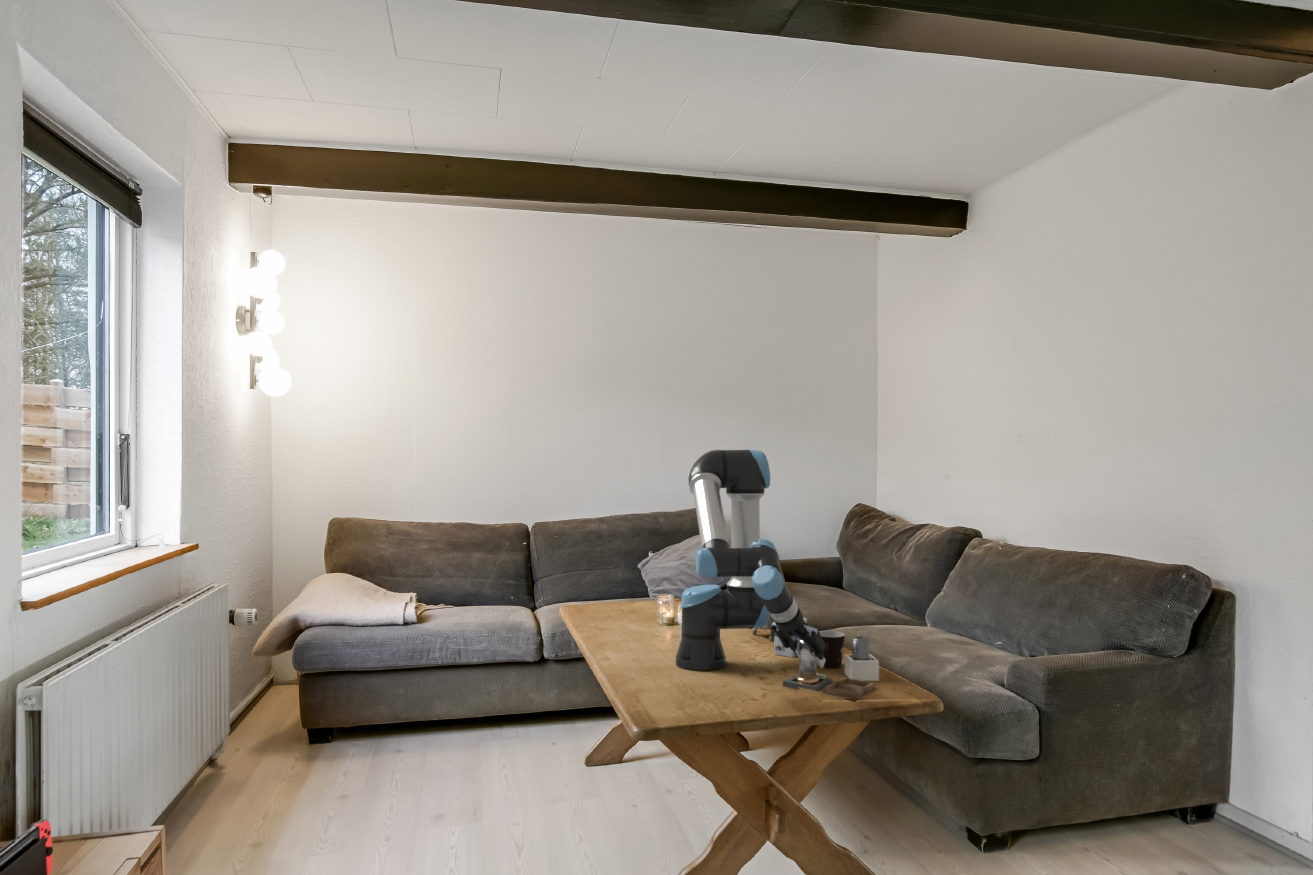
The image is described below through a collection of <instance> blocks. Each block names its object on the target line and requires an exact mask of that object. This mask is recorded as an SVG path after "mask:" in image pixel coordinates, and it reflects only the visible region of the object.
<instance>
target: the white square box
mask: <svg viewBox="0 0 1313 875" xmlns="http://www.w3.org/2000/svg"><path fill="white" fill-rule="evenodd" d="M843 654H844V653H843ZM843 657H844V675H846V676H847V678H850V679H856V680H861V681H866V682H872V681H873V682H877V681H880V661H879V660H878V658H876V657H875V656H874V655H873V654H871V653H869V660H853V659H852V653H851V654H850V653H848V654H847V653H845V654H844V656H843Z"/></svg>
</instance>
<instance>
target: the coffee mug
mask: <svg viewBox="0 0 1313 875" xmlns="http://www.w3.org/2000/svg"><path fill="white" fill-rule="evenodd" d="M818 631H819V630H818ZM819 633H820V635H821V637H822V639H823V641H824V642H825V644H826V649H825V651H824V658H825V660H826V661H825V663H824V666H823V668H822V669H828V670H833V669H841V668H842V664H843V663H842V662H843V657H844V656H843V654H844V647H845V646H844V645H845V636H846V634H845V633H843V632H842V631H837V630H836V631H835V630H820V631H819Z"/></svg>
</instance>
